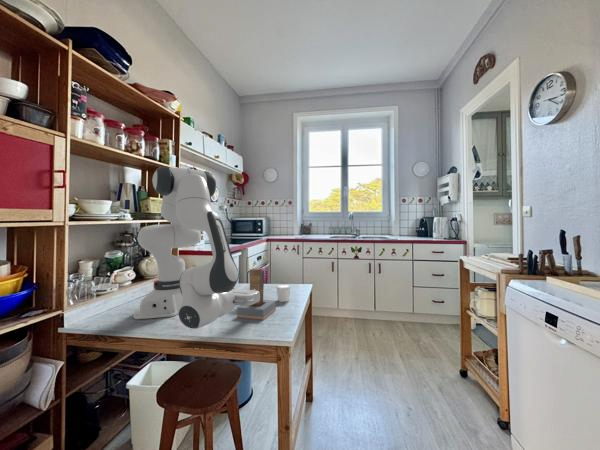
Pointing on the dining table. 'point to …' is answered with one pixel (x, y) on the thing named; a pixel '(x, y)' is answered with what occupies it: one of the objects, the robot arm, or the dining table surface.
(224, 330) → the dining table surface
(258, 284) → the block
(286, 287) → the shot glass
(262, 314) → the end cap
